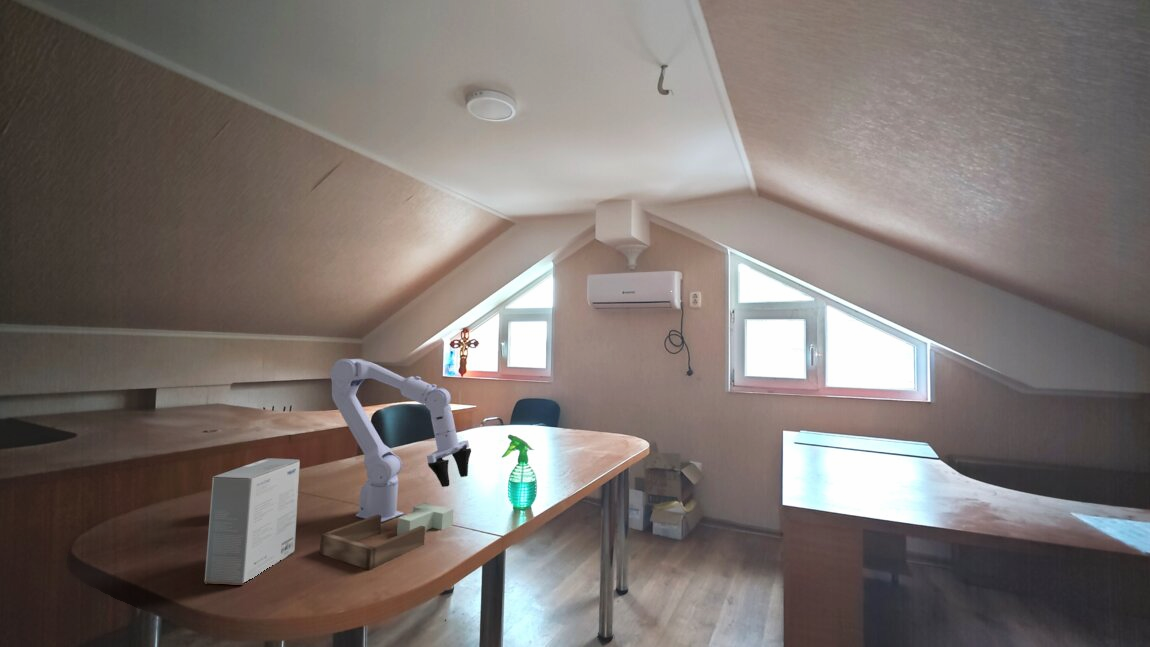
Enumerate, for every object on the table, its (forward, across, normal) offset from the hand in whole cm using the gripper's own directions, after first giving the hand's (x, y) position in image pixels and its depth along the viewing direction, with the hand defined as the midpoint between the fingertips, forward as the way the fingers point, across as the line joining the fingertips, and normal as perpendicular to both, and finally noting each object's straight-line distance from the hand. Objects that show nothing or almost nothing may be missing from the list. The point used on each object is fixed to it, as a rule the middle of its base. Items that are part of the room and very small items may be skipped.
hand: (455, 481), depth 126 cm
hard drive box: (+1, -44, +16) cm, 47 cm away
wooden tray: (+6, -25, +4) cm, 26 cm away
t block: (+8, -11, +4) cm, 14 cm away
